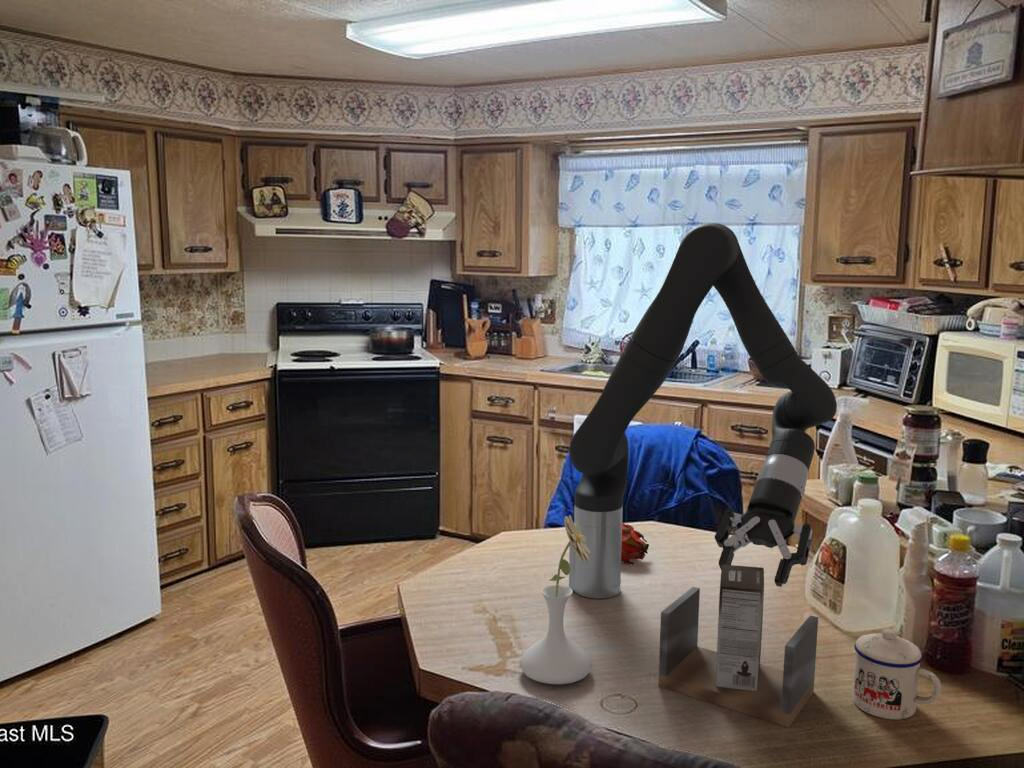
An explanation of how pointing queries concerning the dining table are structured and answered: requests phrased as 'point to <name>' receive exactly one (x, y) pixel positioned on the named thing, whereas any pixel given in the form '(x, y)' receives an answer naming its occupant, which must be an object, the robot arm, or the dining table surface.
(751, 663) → the coffee box
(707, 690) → the shelf bay
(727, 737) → the dining table surface
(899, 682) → the teacup with lid
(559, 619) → the flower in vase
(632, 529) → the dragon fruit
